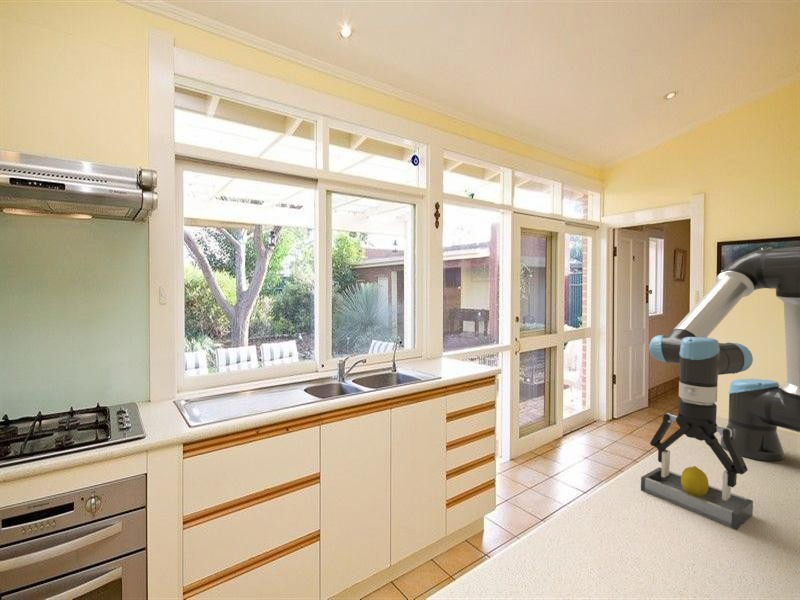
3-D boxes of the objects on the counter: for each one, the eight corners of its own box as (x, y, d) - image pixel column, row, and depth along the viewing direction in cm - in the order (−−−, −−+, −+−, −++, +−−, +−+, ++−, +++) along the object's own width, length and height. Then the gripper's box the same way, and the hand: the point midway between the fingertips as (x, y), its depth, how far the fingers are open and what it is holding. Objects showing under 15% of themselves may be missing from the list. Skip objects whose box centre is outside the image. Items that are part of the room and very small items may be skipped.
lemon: (683, 501, 97) (685, 469, 96) (677, 490, 102) (678, 459, 101) (711, 506, 95) (712, 473, 94) (703, 494, 100) (705, 463, 99)
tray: (658, 479, 109) (659, 467, 109) (752, 515, 93) (753, 500, 92) (640, 490, 104) (641, 477, 104) (736, 530, 87) (737, 514, 87)
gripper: (637, 391, 105) (634, 470, 106) (756, 417, 85) (752, 515, 86) (651, 387, 109) (648, 463, 110) (768, 411, 89) (763, 504, 90)
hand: (694, 486), depth 98 cm, fingers open, 12 cm apart
